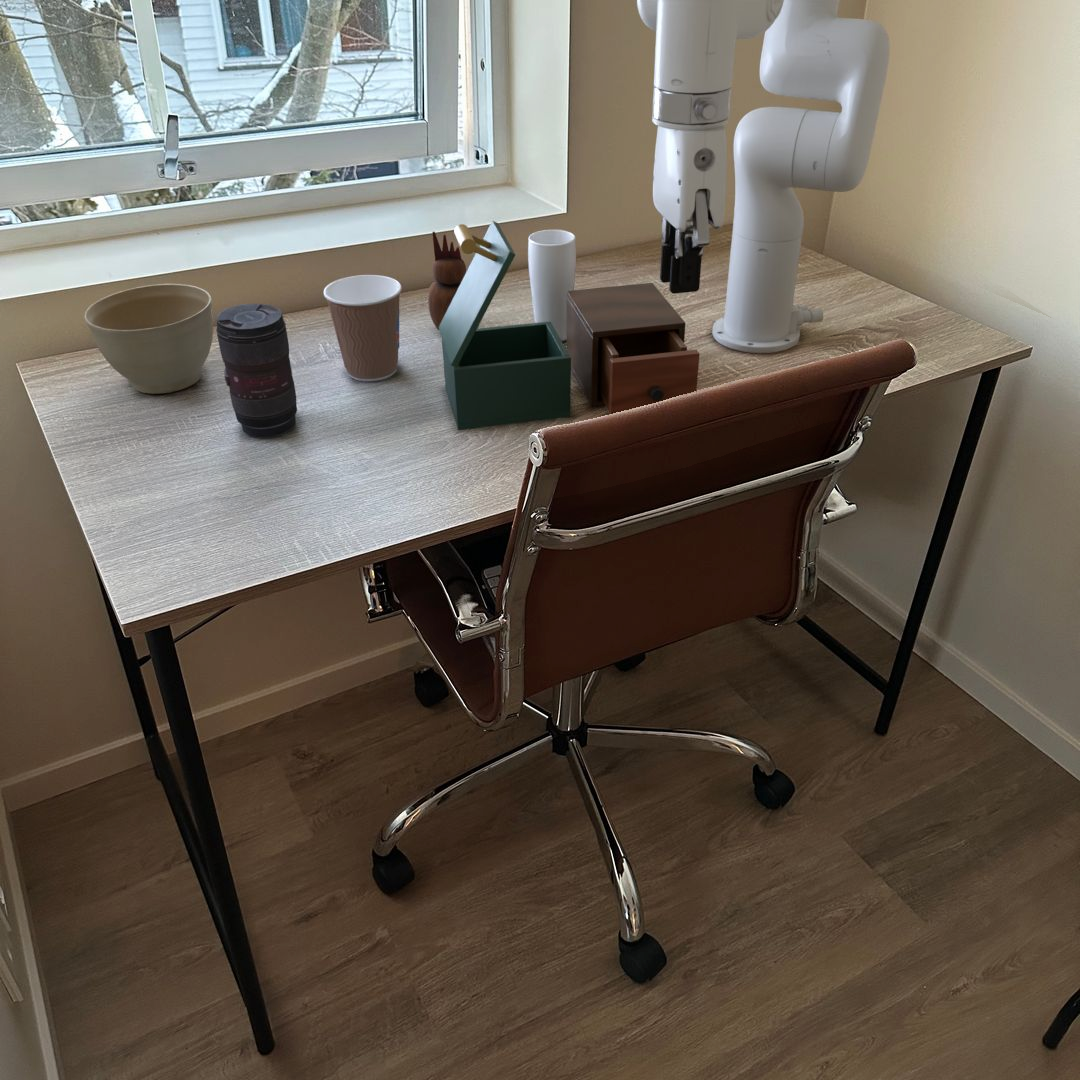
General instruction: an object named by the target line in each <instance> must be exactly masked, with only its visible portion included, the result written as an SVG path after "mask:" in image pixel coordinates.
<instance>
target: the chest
mask: <svg viewBox="0 0 1080 1080" xmlns="http://www.w3.org/2000/svg"><path fill="white" fill-rule="evenodd" d="M441 347H442V361H443V374H444V387H445V392H446V396H447V399H448V402H449V406H450V409H451V411H452V415H453V418H454V422H455V425H456V429H457V431H463V430H472V429H481V428H488V427H489V428H490V427H498V426H505V425H513V424H514V425H515V424H523V423H531V422H540V421H541V422H542V421H549V420H557V419H558V420H559V419H566V418H571V417H572V372H571V357H570V355H569V353H568V352H567V347H566V346H565V344H564V343H563V341H561V339H560V337H559V336H558V334H557V332H556V330H555V329H554V327H553V325H552V323H551V322H540V323H534V322H530V323H521V324H511V325H510V324H509V325H500V326H492V327H491V326H490V327H480V328H477V329H476V331H475V333H474V335H473V337H472V339H471V341H470V343H469V345H468V347H467V349H466V350H465V352H464V354H463V356H462V358H461V360H460V362H459V364H458V366H457V367H454V366H451V364H450V361H449V358H448V355H447V352H446V349H445V346H444V343H443V340H442V339H441Z"/></svg>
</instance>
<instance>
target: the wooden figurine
mask: <svg viewBox="0 0 1080 1080" xmlns="http://www.w3.org/2000/svg"><path fill="white" fill-rule="evenodd" d="M432 242H433V252H434V260H433V262H432V276H433V279H434V280H435V281H434V282H432V283H431V284H430V286H429V288H428V294H427V305H428V312H429V316H430V319H431V321H432V323H433V325H434V327H435V328H436V329H437V331H439V326H440V324H441V322H442V320H443V318H444V316H445V314H446V312H447V310H448V308H449V306H450V304H451V302H452V300H453V298H454V296H455V294H456V292H457V290H458V288H459V286H460V284H461V282H462V280H463V278H464V276H465V274H466V272H467V266H466V263H465V261H464V260H463V259H462V255H461V251H460V250H461V249H460V246H457V247H456V248H455V246H454V242H453V241H450V246H449V245H448V240H447V235H446V234H443V238H442V247H441V245H440V243H439V240H438V237H437V234H436V231H432Z"/></svg>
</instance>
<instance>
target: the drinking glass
mask: <svg viewBox="0 0 1080 1080" xmlns="http://www.w3.org/2000/svg"><path fill="white" fill-rule="evenodd" d="M527 239H528V240H527V241H528V243H527V263H528V264H527V265H528V276H529V285H530V293H531V302H532V313H533V323H540V322H551V323H552V325H553V327H554V329H555V330H556V332H557V334H558V336H559V337H560V339H561V341H562V342H565V341H567V291H571V290H575V282H576V281H575V279H576V271H577V270H576V269H577V242H576V241H577V240H576V239H577V238H576V235H575V234H574V233H572V232H570V231H568V230H563V229H543V230H539V231H535V232H533V233H531V234H530V235H529V236H528V238H527Z"/></svg>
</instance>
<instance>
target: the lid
mask: <svg viewBox="0 0 1080 1080" xmlns="http://www.w3.org/2000/svg"><path fill="white" fill-rule="evenodd" d="M453 231H454V232H453V234H454V236H455V238H456V241H457V243H458V245H459V248H460V250H461V251H462V252H463V253H464V254H466V255H471V254H473V253H475V254H474V255H473V258H472V260H471V262H470V264H469V266H468V268H467V269H466V274H465V276H464V278H463V280H462V282H461V284H460V286H459V288H458V290H457V292H456V294H455V296H454V298H453V300H452V302H451V304H450V306H449V308H448V310H447V312H446V314H445V316H444V318H443V320H442V322H441V324H440V326H439V330H438V331H439V334H440V337H441V341H442V340H443V343H444V346H445V349H446V352H447V355H448V358H449V361H450V364H451V366H454V367H457V366H458V364H459V362H460V360H461V358H462V356H463V354H464V352H465V350H466V349H467V347H468V345H469V343H470V341H471V339H472V337H473V335H474V333H475V331H476V329H479V328H478V327H479V325H480V324H481V322H482V320H483V318H484V317H485V315H486V312H487V311H488V309H489V306H490V304H491V303H492V301H493V299H494V297H495V295H496V294H497V291H498V289H499V287H500V286H501V283H502V281H503V280H504V278H505V276H506V274H507V272H508V270H509V268H510V266H511V265H512V262H513V261H514V259H515V257H516V253H515V251H514V249H513V247H512V246H511V244H510V242H509V241H508V239H507V237H506V235H505V233H504V231H503V230H502V228H501V227H500V225H499V223H498V222H497V221H495V220H492V221H491V222H490V225H489V227H488V229H487V231H486V233H485V235H484V236H483V238H482V237H480V236H477V235H476V234H474V233H471V230H470V228H469V227H468V226H467V225H466V224H463V223H461V224H458V225H456V226H455V228H454V230H453Z"/></svg>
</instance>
